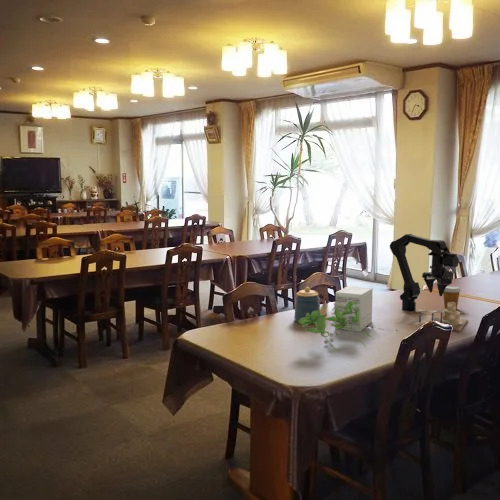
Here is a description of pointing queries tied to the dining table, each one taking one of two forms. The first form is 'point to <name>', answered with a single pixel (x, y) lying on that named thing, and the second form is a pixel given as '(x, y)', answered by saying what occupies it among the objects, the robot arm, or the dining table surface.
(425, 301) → the dining table surface
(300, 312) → the canister
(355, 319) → the plant cuttings
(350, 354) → the dining table surface
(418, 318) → the wire board
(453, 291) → the disposable coffee cup
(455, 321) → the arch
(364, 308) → the supplement box
